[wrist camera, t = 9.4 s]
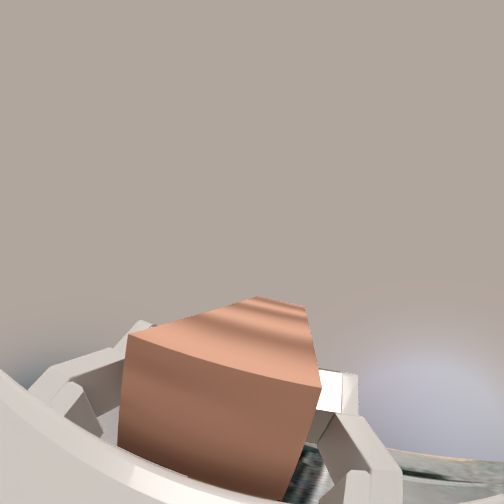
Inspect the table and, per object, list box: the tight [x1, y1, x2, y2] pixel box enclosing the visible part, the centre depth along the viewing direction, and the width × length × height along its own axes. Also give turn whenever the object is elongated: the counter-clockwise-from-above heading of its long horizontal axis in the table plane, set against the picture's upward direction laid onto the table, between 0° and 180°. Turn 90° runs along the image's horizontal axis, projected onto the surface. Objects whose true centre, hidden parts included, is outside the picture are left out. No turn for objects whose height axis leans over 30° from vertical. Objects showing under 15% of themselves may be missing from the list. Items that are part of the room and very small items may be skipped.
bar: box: [117, 296, 323, 500], centre depth 15 cm, size 20×4×3 cm, turn 171°
